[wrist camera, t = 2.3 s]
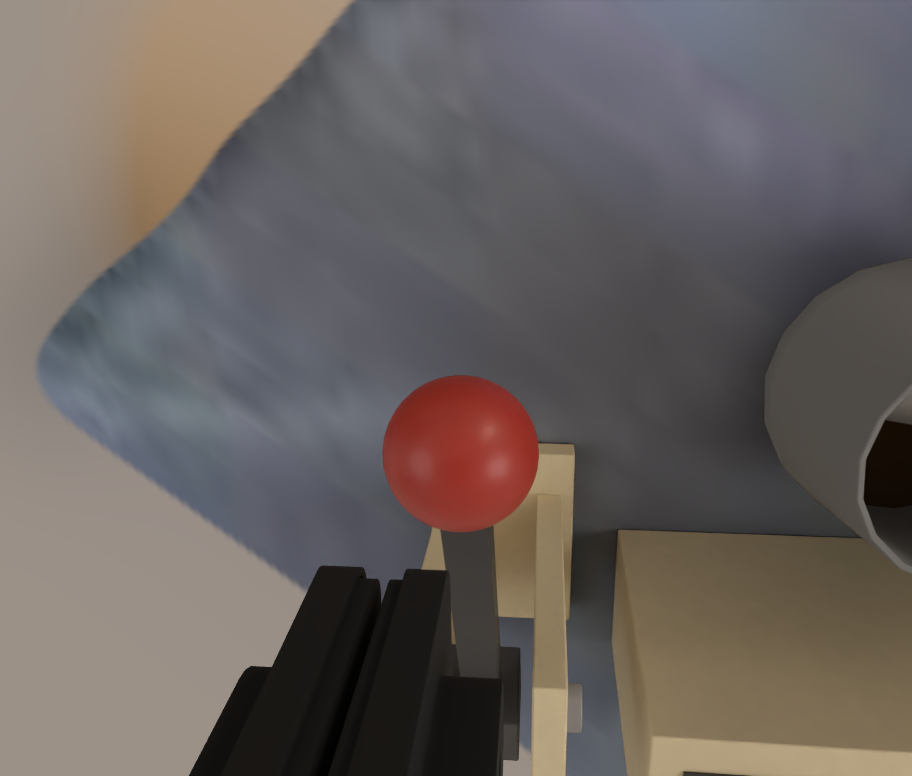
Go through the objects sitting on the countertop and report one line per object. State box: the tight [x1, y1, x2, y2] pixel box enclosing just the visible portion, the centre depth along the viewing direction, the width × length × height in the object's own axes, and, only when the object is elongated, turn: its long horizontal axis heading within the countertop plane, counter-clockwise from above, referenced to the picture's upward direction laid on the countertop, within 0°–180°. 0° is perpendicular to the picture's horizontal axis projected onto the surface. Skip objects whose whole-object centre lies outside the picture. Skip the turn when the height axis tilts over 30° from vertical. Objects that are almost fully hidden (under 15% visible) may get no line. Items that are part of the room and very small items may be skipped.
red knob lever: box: [383, 375, 539, 761], centre depth 20 cm, size 15×3×3 cm, turn 2°
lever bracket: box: [422, 443, 582, 776], centre depth 29 cm, size 8×6×13 cm
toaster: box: [612, 530, 912, 776], centre depth 29 cm, size 6×12×12 cm, turn 91°
